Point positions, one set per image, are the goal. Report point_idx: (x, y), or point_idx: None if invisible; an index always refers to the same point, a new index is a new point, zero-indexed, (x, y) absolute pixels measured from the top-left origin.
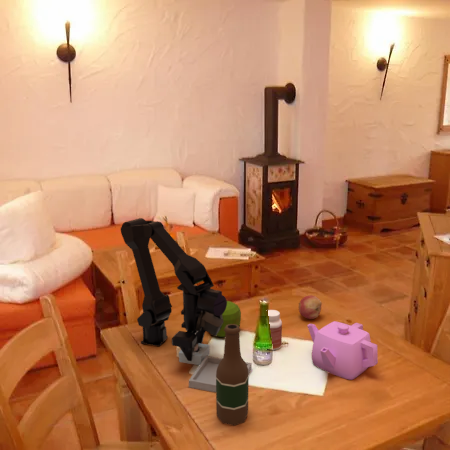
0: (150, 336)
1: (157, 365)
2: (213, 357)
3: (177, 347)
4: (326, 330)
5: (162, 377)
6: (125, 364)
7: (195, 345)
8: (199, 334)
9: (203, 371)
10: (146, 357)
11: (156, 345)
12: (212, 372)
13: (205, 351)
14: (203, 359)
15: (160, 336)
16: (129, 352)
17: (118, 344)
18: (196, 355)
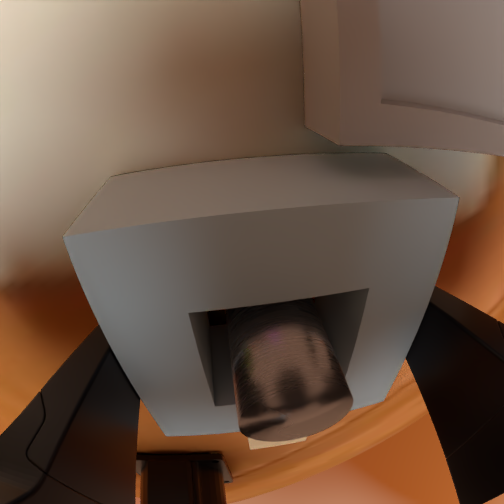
0: (225, 501)
1: (396, 385)
2: (359, 20)
3: (301, 438)
4: None
5: (491, 310)
6: (386, 436)
7: (337, 394)
8: (90, 480)
9: (493, 102)
10: (330, 436)
11: (224, 459)
12: (486, 22)
13: (281, 200)
14: (345, 164)
15: (199, 492)
16: (304, 466)
17: (264, 488)
18: (442, 261)
